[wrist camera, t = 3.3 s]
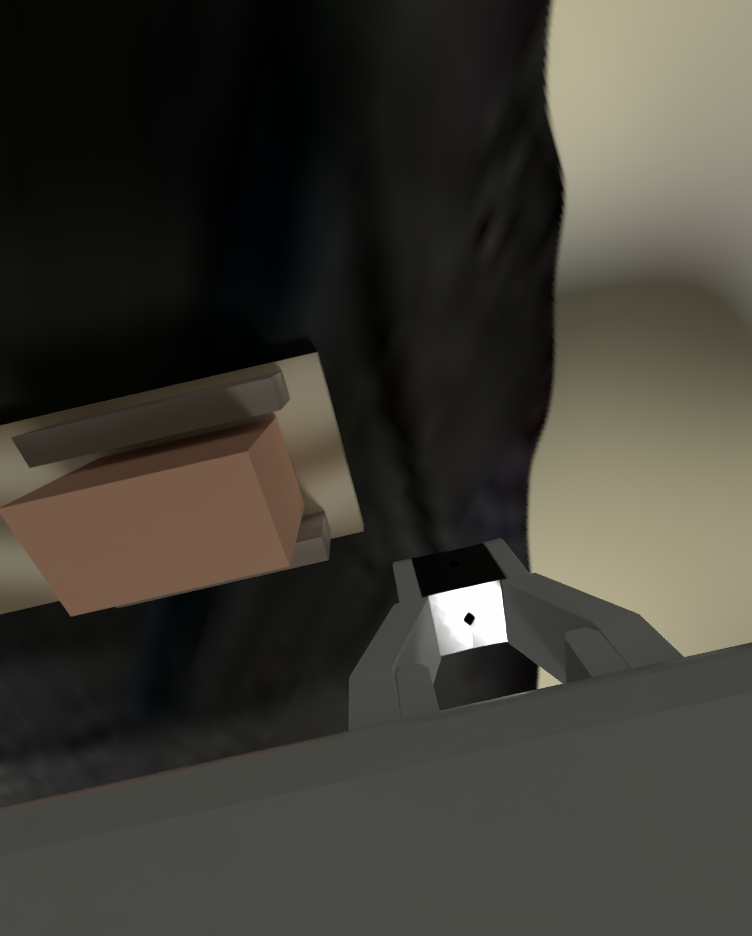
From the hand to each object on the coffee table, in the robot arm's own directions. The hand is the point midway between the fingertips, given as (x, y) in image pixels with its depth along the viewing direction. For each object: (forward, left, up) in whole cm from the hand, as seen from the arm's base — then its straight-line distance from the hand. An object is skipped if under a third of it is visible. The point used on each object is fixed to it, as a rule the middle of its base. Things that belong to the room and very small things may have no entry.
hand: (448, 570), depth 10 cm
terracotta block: (0, -11, -12) cm, 16 cm away
